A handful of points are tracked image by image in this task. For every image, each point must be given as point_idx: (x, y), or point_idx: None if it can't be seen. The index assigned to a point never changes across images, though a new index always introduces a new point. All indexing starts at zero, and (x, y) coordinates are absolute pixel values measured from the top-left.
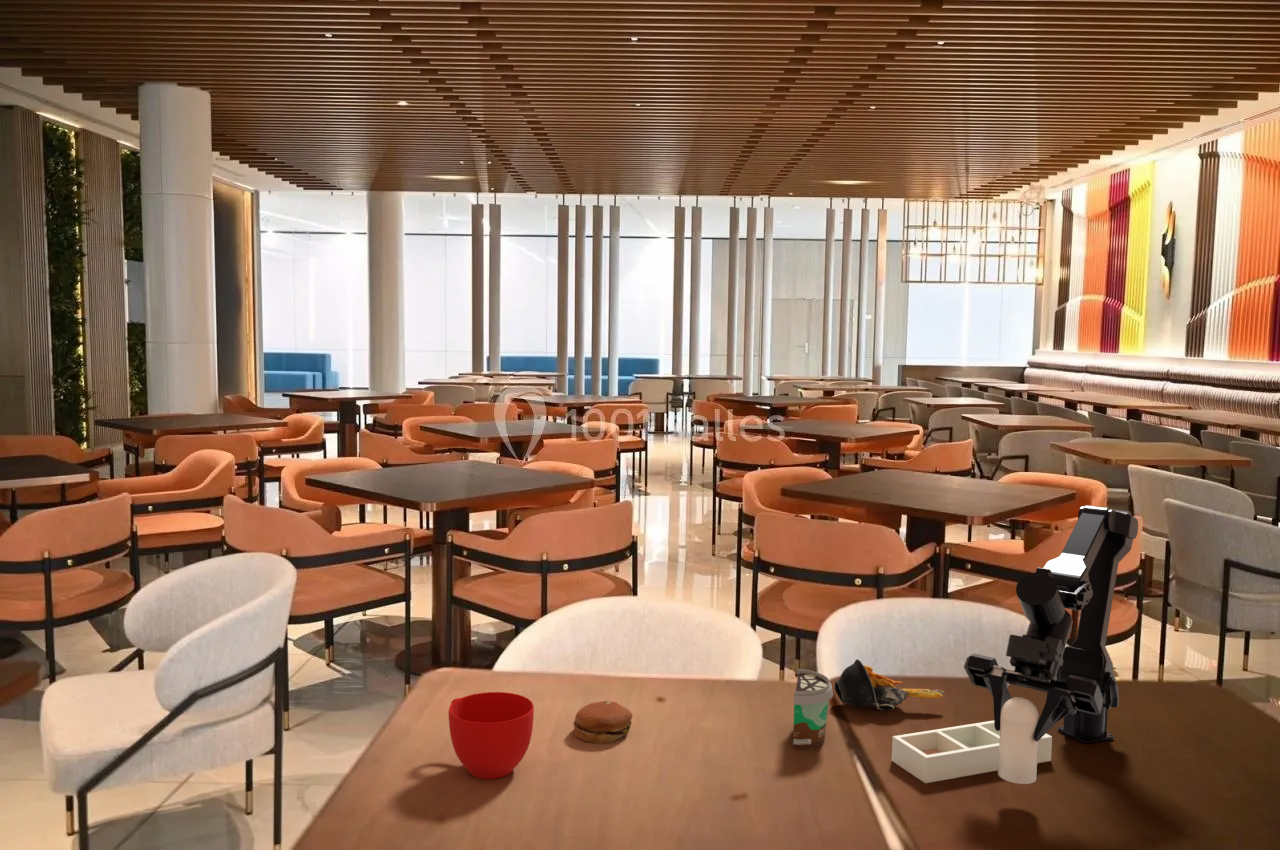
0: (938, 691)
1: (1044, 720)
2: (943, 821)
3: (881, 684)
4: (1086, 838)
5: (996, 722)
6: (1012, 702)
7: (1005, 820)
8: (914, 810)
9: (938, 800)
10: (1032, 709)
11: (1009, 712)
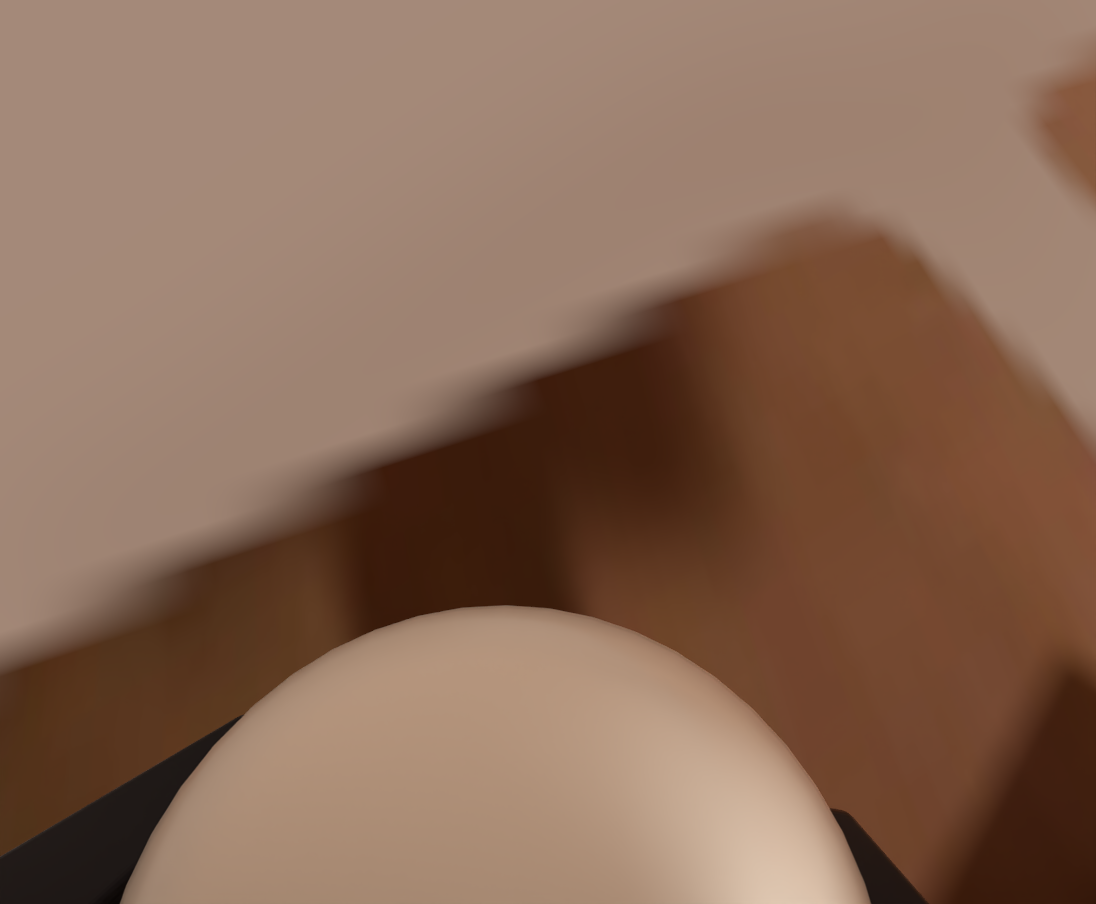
0: None
1: (9, 872)
2: (826, 403)
3: None
4: (85, 623)
5: (851, 843)
6: (654, 791)
7: (539, 595)
8: (1005, 441)
9: (960, 640)
10: (177, 848)
11: (650, 642)
